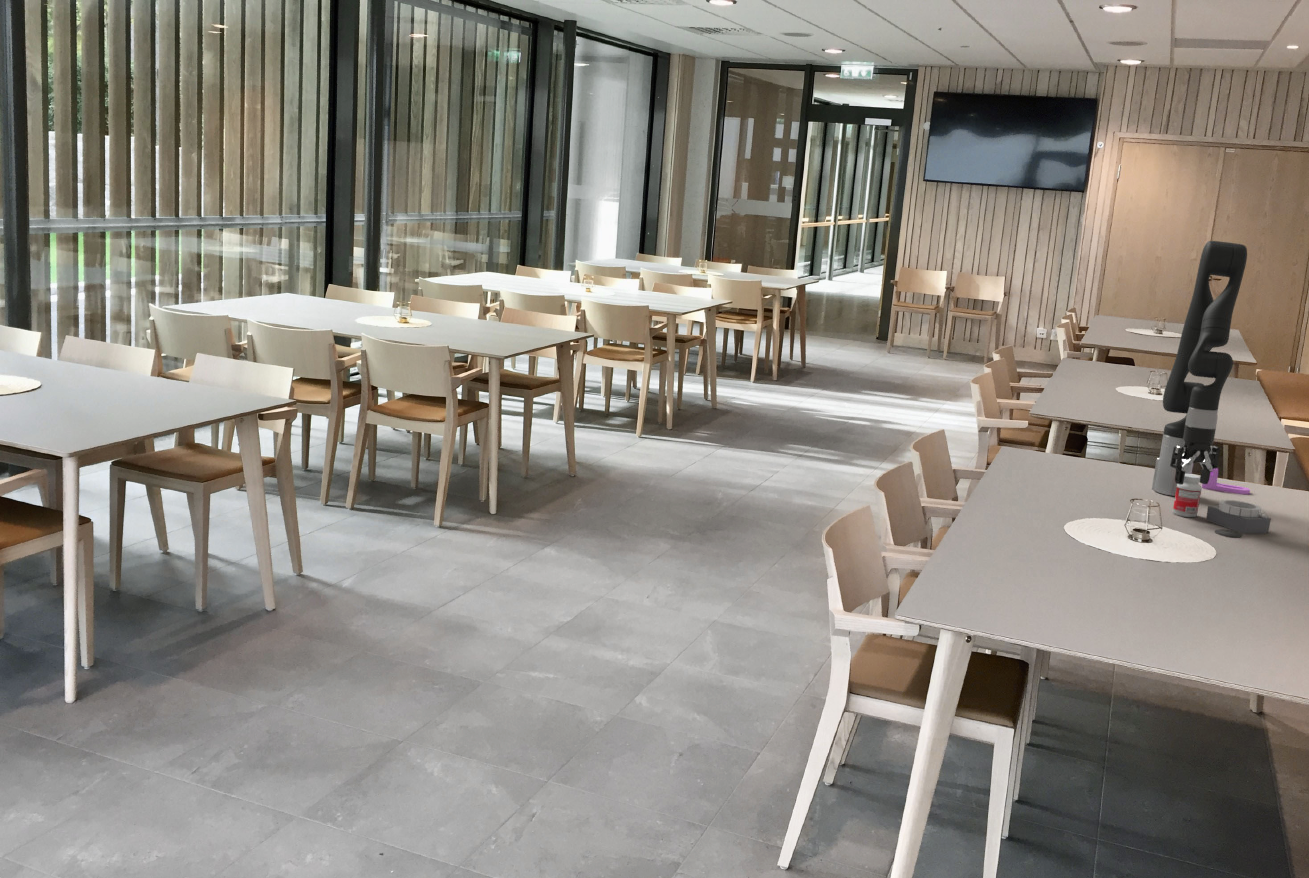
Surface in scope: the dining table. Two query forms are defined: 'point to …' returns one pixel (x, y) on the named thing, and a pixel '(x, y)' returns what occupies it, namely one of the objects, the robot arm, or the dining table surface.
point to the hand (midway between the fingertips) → (1191, 483)
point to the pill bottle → (1187, 496)
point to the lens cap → (1228, 533)
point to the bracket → (1223, 485)
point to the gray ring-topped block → (1239, 517)
